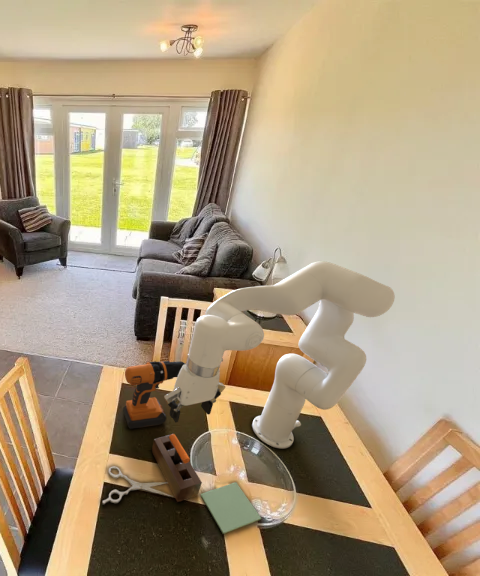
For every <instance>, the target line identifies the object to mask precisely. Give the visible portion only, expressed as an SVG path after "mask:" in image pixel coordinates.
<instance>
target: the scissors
mask: <svg viewBox="0 0 480 576" xmlns="http://www.w3.org/2000/svg"><path fill="white" fill-rule="evenodd" d="M112 470H117V471H118V474H115V473H112V472H111V471H112ZM108 474H109V476H110V477H112V478H114V479H118V478H123V479H125V480H126V481H127V482H128V483H129V484H130V485H131V486H130V487H129V488H128V489H127V490H125V491H119V490H118V489H113V490H111V491H110V492H109V494H108V497H107V498H106V499H102V505H105V504H107V503H109V502H110V503H113V504H118V503H119V502H121V500H122V498H123V496H124V495H128V494H129V493H130V492H131V491H137V490H143V491H147V492H151V493H154V494H159V495H162V496H163V495H164V496H167V497H172V498H173V497H174V495H170V494H169V493H166V492H164V491H161V490H158V489H156V488H154V487H155V486H161V485H164V484H168V482H167V481H162V482H161V481H160V482H138V481H136V480H133V479H130V478H129V477H128V475H125V474H123V473H122V471H121V469H120V468H119V467H118V466H114V465H112V466H110V467H109V468H108ZM113 494H117V495H118V497H119V498H117V499H113V498H112V495H113ZM174 498H175V497H174Z"/></svg>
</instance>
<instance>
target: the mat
mask: <svg viewBox="0 0 480 576" xmlns="http://www.w3.org/2000/svg"><path fill="white" fill-rule="evenodd" d="M200 497H201V499H202V500H203V502H204V504H205V506H206V507H207V509H208V511H209V513H210V514H211V516H212V518H213V520H214V521H215V523H216V524H217V526H218V528H219V530H220V531H221V533H222V535H225V534H227V533H230V532H233V531H235V530H237V529H240V528H242V527H246V526H248V525H250V524H253V523H256V522H258V521H260V520H262V517H261V515H260V514H259V513H258V511H257V509H255V507H254V505H253V504H252V502H251V501H250V499H249V498H248V497H247V496H246V494H245V492H244V491H243V490H242V489H241V487H240V486H239V484H238V482H237V481H235V482H232V483H228V484H226V485H222V486H220V487H217V488H214V489H211V490H208V491H205V492H203V493H200Z"/></svg>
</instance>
